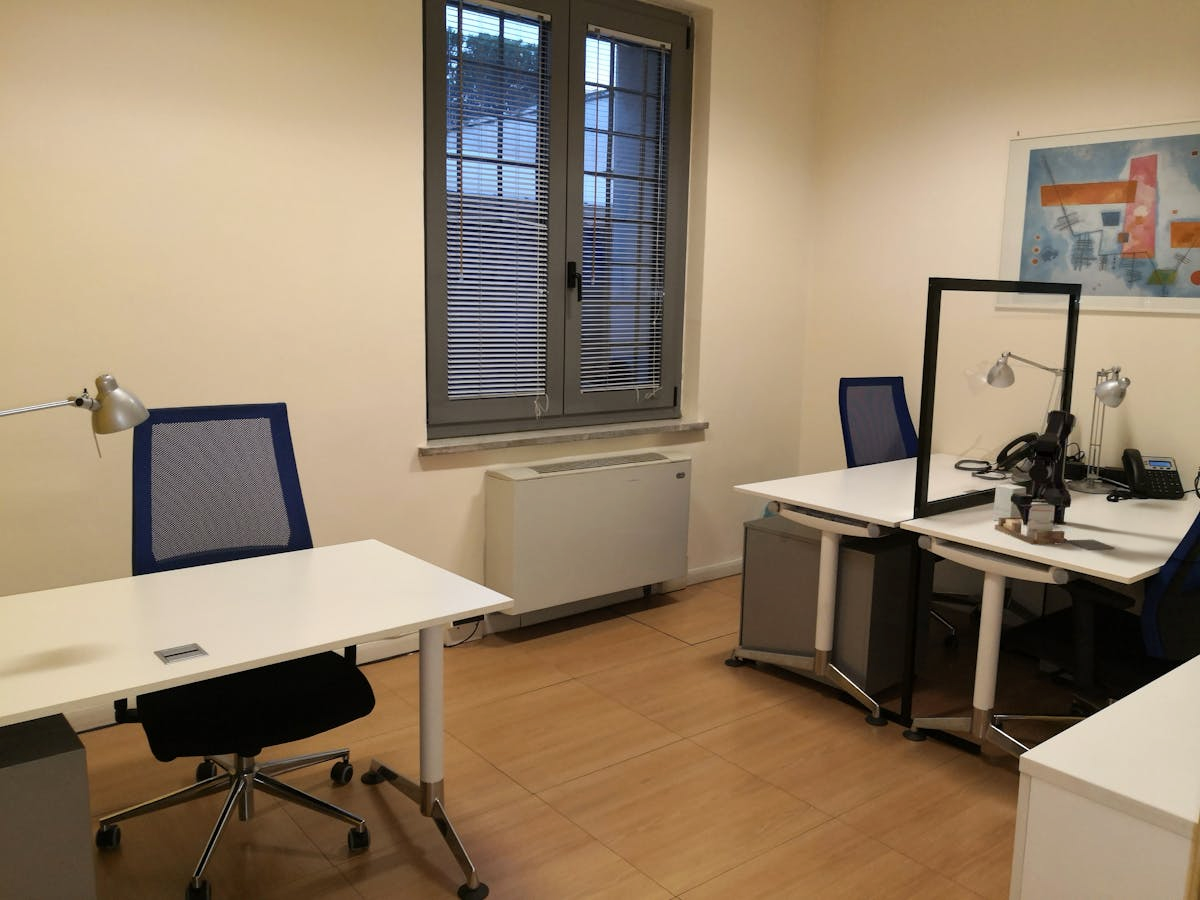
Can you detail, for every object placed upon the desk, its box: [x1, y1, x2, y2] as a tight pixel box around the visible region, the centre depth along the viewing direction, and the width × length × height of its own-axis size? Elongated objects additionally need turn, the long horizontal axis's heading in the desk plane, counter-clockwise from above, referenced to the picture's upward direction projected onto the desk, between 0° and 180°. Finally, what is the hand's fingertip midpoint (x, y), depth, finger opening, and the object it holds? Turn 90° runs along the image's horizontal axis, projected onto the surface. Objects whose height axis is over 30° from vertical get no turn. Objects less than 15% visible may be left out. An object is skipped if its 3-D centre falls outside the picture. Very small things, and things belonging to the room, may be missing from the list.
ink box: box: [1021, 502, 1055, 539], centre depth 320 cm, size 9×5×12 cm, turn 91°
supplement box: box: [992, 483, 1027, 522], centre depth 344 cm, size 7×7×13 cm
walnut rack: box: [994, 517, 1068, 545], centre depth 323 cm, size 12×20×4 cm, turn 12°
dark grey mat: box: [1067, 538, 1116, 551], centre depth 314 cm, size 10×10×1 cm
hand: (1037, 524), depth 319 cm, fingers open, 9 cm apart
